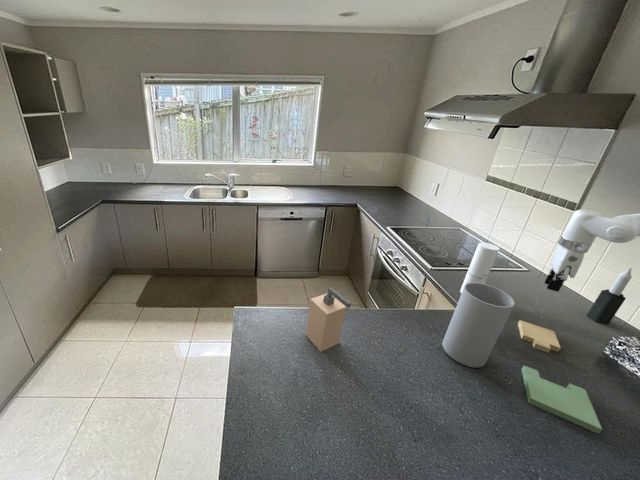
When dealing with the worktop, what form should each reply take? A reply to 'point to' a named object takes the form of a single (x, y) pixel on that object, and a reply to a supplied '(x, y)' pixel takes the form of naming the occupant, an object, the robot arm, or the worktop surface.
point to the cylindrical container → (481, 264)
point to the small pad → (539, 337)
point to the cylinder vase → (476, 324)
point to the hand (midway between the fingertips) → (551, 286)
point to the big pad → (560, 400)
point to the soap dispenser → (326, 319)
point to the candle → (610, 300)
